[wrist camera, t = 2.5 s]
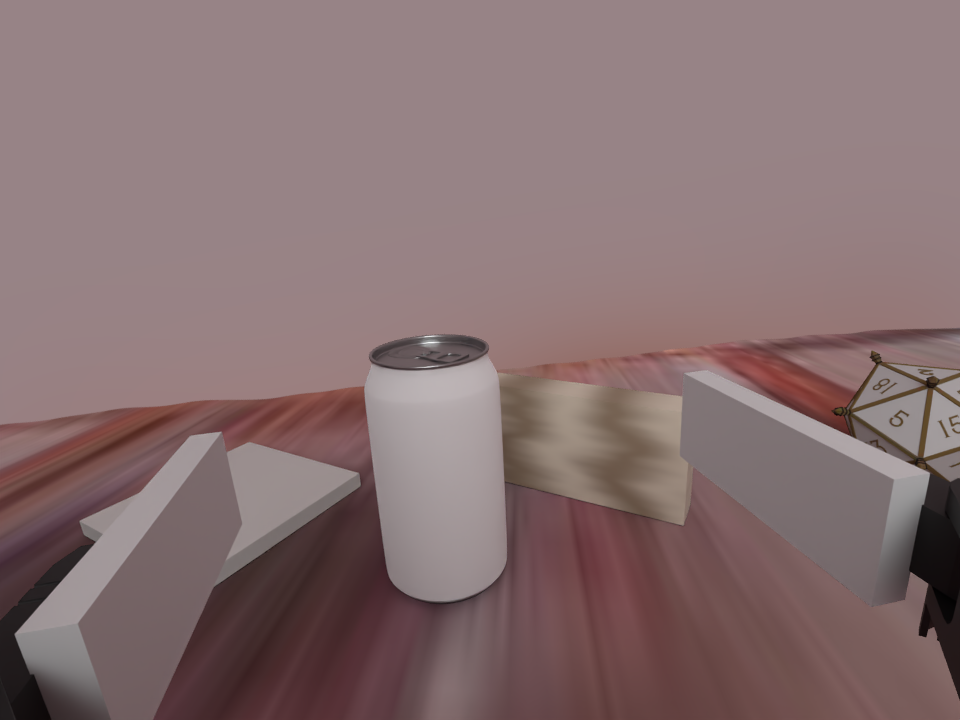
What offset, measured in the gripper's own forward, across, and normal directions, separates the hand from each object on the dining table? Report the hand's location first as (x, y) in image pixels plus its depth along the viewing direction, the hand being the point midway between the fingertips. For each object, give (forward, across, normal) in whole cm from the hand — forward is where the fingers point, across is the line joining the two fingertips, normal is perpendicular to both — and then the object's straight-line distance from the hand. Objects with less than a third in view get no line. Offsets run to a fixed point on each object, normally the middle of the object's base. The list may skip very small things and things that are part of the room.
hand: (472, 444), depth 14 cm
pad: (+19, -14, -11) cm, 26 cm away
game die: (+11, +29, -12) cm, 34 cm away
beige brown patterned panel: (+18, +6, -12) cm, 22 cm away
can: (+10, 0, -12) cm, 16 cm away
